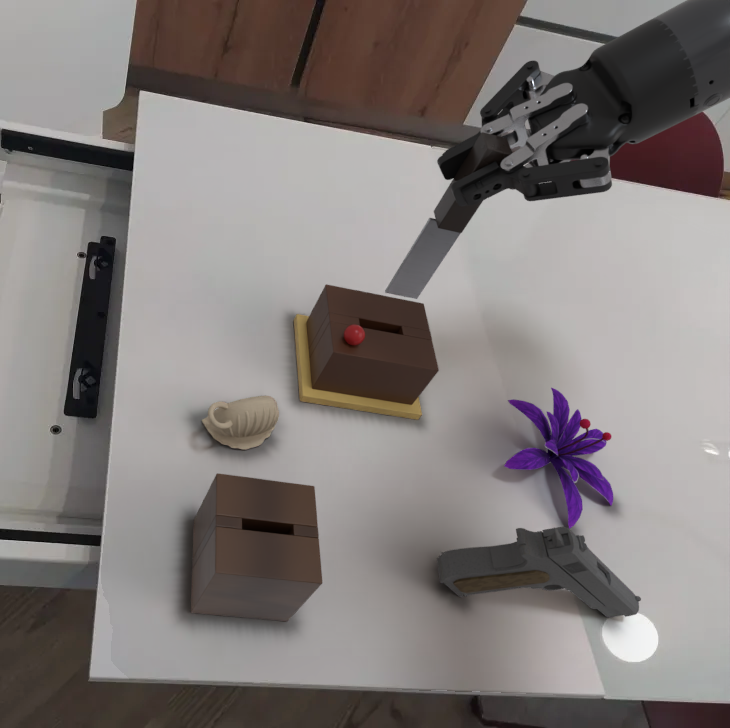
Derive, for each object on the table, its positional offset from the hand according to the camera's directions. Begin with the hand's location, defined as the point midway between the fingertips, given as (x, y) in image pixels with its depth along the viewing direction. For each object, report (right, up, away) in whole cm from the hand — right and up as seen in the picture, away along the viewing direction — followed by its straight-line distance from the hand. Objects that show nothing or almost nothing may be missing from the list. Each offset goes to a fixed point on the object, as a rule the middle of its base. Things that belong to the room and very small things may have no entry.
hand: (448, 183), depth 58 cm
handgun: (+10, -35, +9) cm, 38 cm away
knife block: (-16, -31, +3) cm, 35 cm away
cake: (-4, -15, +21) cm, 26 cm away
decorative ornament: (-17, -21, +11) cm, 29 cm away
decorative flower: (+16, -25, +20) cm, 36 cm away
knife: (-2, -8, +10) cm, 13 cm away
